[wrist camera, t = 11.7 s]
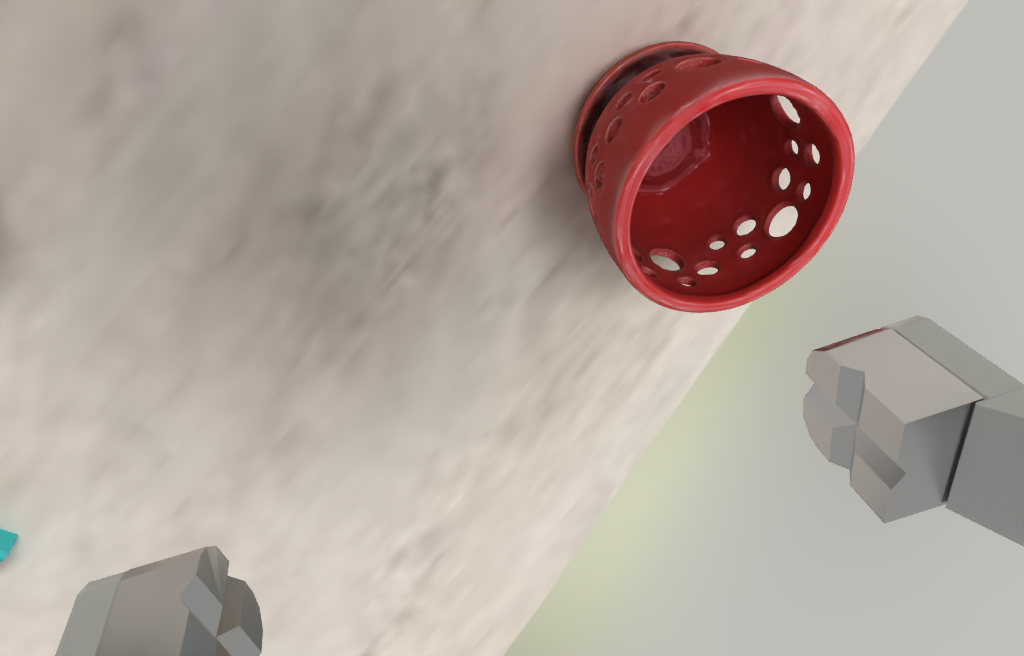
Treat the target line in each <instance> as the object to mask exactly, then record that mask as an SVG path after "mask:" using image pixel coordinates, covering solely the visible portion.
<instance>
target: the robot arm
mask: <svg viewBox="0 0 1024 656" xmlns="http://www.w3.org/2000/svg"><path fill="white" fill-rule="evenodd" d="M806 374H807V375H808V376H809V377H810V378H811V380H812V381H814V384H813V386H812V387H811V389H810V390H809V391H808V393H807V394H806V396H805V397H804V407H803V416H804V420H805V422H806V426H807V429H808V432H809V435H810V436H811V438H812V439H813V441H814V443H815V445H816V447H817V448H818V449H819V450H820V452H821V453H822V454H823V455H824V456H825V457H826V459H827V460H828V461H829V462H832V463H834V464H837V465H839V466H842V467H845V468H847V469H849V470H850V486H851V487H852V488H853V489H854V490H855V491H856V493H857V494H858V495H859V496H860V497H861V498H862V499H863V500H864V501H865V503H866V504H867V505H868V506H869V507H870V508H871V509H872V510H873V511H874V512H875V514H876V515H877V516H878V517H879V518H880V519H881V520H882V521H883V523H887V522H890V521H893V520H897V519H900V518H903V517H906V516H909V515H912V514H916V513H919V512H922V511H925V510H928V509H932V508H935V507H937V506H941V505H944V504H946V508H947V509H949V510H952V511H953V512H955V513H957V514H960V515H962V516H963V517H965V518H967V519H969V520H972V521H973V522H975V523H978V524H980V525H982V526H984V527H986V528H988V529H990V530H992V531H994V532H996V533H998V534H1000V535H1002V536H1004V537H1006V538H1008V539H1010V540H1012V541H1014V542H1016V543H1018V544H1020V545H1022V546H1024V385H1023V384H1022V383H1021V382H1019V381H1018V380H1017V379H1015V378H1014V377H1012V376H1011V375H1009V374H1008V373H1006V372H1005V371H1004V370H1002V369H1001V368H999V367H998V366H996V365H995V364H993V363H992V362H991V361H989V360H988V359H986V358H985V357H983V356H982V355H981V354H979V353H978V352H976V351H975V350H973V349H972V348H970V347H969V346H968V345H966V344H965V343H963V342H962V341H960V340H959V339H957V338H956V337H954V336H953V335H952V334H950V333H949V332H947V331H946V330H944V329H943V328H942V327H940V326H939V325H937V324H936V323H934V322H933V321H932V320H930V319H928V318H924V317H920V316H915V317H911V318H908V319H905V320H903V321H899V322H896V323H893V324H890V325H887V326H884V327H882V328H880V329H875V330H873V331H869V332H866V333H863V334H861V335H858V336H854V337H852V338H848V339H845V340H842V341H839V342H836V343H833V344H830V345H828V346H825V347H821V348H818V349H815V350H813V351H812V352H811V354H810V355H809V357H808V359H807V367H806ZM228 566H229V560H228V559H227V558H226V557H225V556H224V555H223V553H222V552H221V551H220V550H219V549H218V548H217V546H211V547H204V548H201V549H197V550H194V551H191V552H187V553H184V554H181V555H177V556H174V557H171V558H167V559H164V560H160V561H157V562H154V563H150V564H147V565H144V566H140V567H137V568H133V569H130V570H129V571H126V572H123V573H119V574H116V575H113V576H109V577H106V578H102V579H99V580H96V581H92V582H89V583H88V584H87V585H86V586H85V587H84V588H83V589H82V590H81V591H80V592H79V594H78V595H77V598H76V600H75V603H74V606H73V609H72V611H71V614H70V617H69V619H68V622H67V625H66V628H65V630H64V633H63V636H62V638H61V641H60V644H59V647H58V649H57V652H56V655H55V656H259V655H260V654H261V651H262V636H263V628H262V621H261V614H260V608H259V605H258V603H257V601H256V598H255V596H254V594H253V592H252V590H251V589H250V588H249V586H248V585H247V584H246V582H245V581H242V580H239V579H236V578H233V577H230V576H227V573H228Z"/></svg>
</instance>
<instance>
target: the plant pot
mask: <svg viewBox="0 0 1024 656" xmlns="http://www.w3.org/2000/svg"><path fill="white" fill-rule="evenodd" d="M777 95H780V96H784V97H786V98H787V99H789V101H790V102H791V103H792V105H793V107H794V108H795V109H796V111H797V114H798V116H799V118H800V123H796V122H794V121H792V120H791V119H790V118H789V117H788V116H787V114H786V113H785V111H784V110H783V108H782V106H781V104H780V103H779V100H778V97H777ZM792 140H794V141H795V142H796V144H797V146H798V154H796V153H794V151H793V150H792ZM812 144H814V145H815V146H816V148H817V150H818V151H819V154H820V161H819V163H818V164H817V163H816V162H815V161H814V159H813V155H812ZM573 160H574V168H575V172H576V176H577V179H578V182H579V184H580V186H581V188H582V190H583V192H584V193H585V195H586V197H587V198H588V203H589V207H590V211H591V214H592V217H593V220H594V223H595V226H596V228H597V231H598V233H599V235H600V237H601V239H602V241H603V243H604V245H605V247H606V249H607V250H608V252H609V254H610V255H611V257H612V259H613V260H614V262H615V263H616V265H617V266H618V267H619V269H620V270H621V272H622V273H623V274H624V276H625V277H626V278H627V280H628V281H629V282H630V283H631V285H632V286H633V287H634V288H635V289H637V290H638V291H639V292H640V293H641V294H643V295H644V296H645V297H647V298H648V299H649V300H651V301H653V302H655V303H657V304H659V305H661V306H664V307H667V308H670V309H673V310H678V311H685V312H695V313H704V312H716V311H722V310H727V309H731V308H735V307H738V306H741V305H744V304H746V303H749V302H751V301H753V300H756V299H758V298H759V297H761V296H763V295H765V294H767V293H769V292H771V291H773V290H774V289H776V288H777V287H779V286H780V285H782V284H783V283H785V282H786V281H787V280H789V279H790V278H791V277H792V276H794V275H795V274H796V273H797V272H798V271H799V270H801V269H802V268H803V266H805V265H806V264H807V263H808V262H809V261H810V260H811V259H812V258H813V257H814V256H815V255H816V253H817V252H818V251H819V249H820V248H821V247H822V245H823V244H824V242H825V241H826V240H827V239H828V237H829V236H830V235H831V233H832V231H833V230H834V228H835V226H836V225H837V223H838V221H839V219H840V216H841V214H842V212H843V210H844V207H845V204H846V202H847V198H848V196H849V193H850V189H851V185H852V179H853V173H854V160H855V156H854V145H853V140H852V135H851V132H850V130H849V126H848V124H847V122H846V121H845V119H844V117H843V115H842V113H841V112H840V110H839V109H838V108H837V106H836V105H835V103H834V102H833V101H832V100H831V99H830V98H829V97H828V96H827V95H826V94H824V93H823V92H822V91H821V90H820V89H818V88H817V87H815V86H814V85H812V84H810V83H809V82H807V81H805V80H803V79H801V78H800V77H798V76H796V75H794V74H792V73H790V72H787V71H785V70H782V69H780V68H777V67H775V66H772V65H769V64H766V63H763V62H760V61H756V60H753V59H748V58H743V57H737V56H730V55H723V54H719V53H717V52H716V51H714V50H712V49H710V48H708V47H706V46H703V45H699V44H696V43H691V42H681V41H674V42H663V43H659V44H654V45H651V46H648V47H645V48H643V49H641V50H638V51H636V52H634V53H632V54H631V55H629V56H627V57H626V58H624V59H623V60H621V61H620V62H618V63H617V64H616V65H615V66H613V67H612V68H611V69H610V70H609V71H608V72H607V73H606V74H605V75H604V76H603V77H602V78H601V79H600V81H599V82H598V83H597V85H596V86H595V87H594V89H593V90H592V92H591V93H590V95H589V96H588V98H587V100H586V102H585V104H584V106H583V108H582V110H581V113H580V115H579V118H578V121H577V124H576V129H575V133H574V140H573ZM784 168H787V169H788V171H789V173H790V184H789V185H788V187H787V188H786V189H784V190H782V189H781V188H780V186H779V176H780V173H781V172H782V170H783V169H784ZM807 183H809V184H810V187H811V192H810V195H809V197H808V198H807V199H806V200H805V199H804V197H803V191H804V187H805V185H806V184H807ZM787 206H794V207H795V208H796V210H797V212H798V218H797V222H796V224H795V226H794V227H793V229H792V230H791V231H790V232H789V233H788V234H786V235H784V236H781V237H772V236H770V234H769V227H770V224H771V221H772V219H773V218H774V216H775V215H776V214H777V213H778V212H779V211H780V210H781V209H783V208H785V207H787ZM747 220H755V221H756V226H755V228H754V229H753V230H752V231H751V232H750V233H748V234H746V235H742V236H740V235H738V234H737V229H738V227H739V225H740V224H742V223H743V222H744V221H747ZM715 241H723V242H724V243H725V245H724V246H723V247H722V248H720V249H718V250H713V249H711V248H710V247H709V245H710V244H711V243H712V242H715ZM748 249H755V250H756V252H755V253H754V255H752V256H750V257H749V258H741V254H742V253H743V252H744V251H746V250H748ZM650 255H658V256H663V257H667V258H669V259H671V260H673V261H674V262H676V263H677V264H678V265H679V267H680V270H677V271H669V270H665V269H662V268H661V267H660V266H658V265H657V264H655V263H654V262H653V261H652V260H651V258H650ZM709 267H713V268H716V269H718V272H717V273H715V274H711V275H700V274H698V273H697V272H698V271H699V270H701V269H704V268H709ZM682 284H686V285H690V286H685V285H682Z"/></svg>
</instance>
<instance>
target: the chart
mask: <svg viewBox="0 0 1024 656" xmlns="http://www.w3.org/2000/svg"><path fill="white" fill-rule="evenodd" d="M17 536H18V535H17V534H14V533H11V532H8V531H5V530H2V529H0V562H1V561H2V560H3V559H4V558H5V557H6V556H7V555H8V554H9V552H10V550H11V548H12V546H13V544H14V542H15V540H16V538H17Z"/></svg>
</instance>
